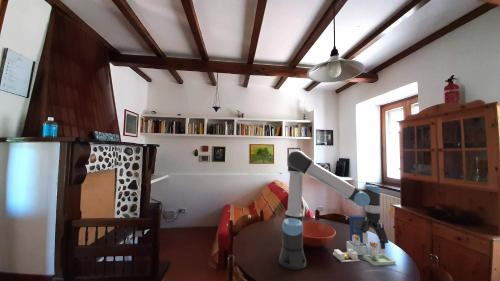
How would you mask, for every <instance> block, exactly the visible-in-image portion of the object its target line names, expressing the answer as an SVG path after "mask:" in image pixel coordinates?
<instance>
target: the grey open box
mask: <svg viewBox="0 0 500 281" xmlns="http://www.w3.org/2000/svg"><path fill="white" fill-rule="evenodd" d="M347 249H353V250H354V251H355V252H357V253H358V256H363V255H368V252H367V251H368V250H367V245H366V246H365V245H364V244H362V243H361V242H360V246H353V245H352V241H350V240H349V241H348V240H346V250H347Z"/></svg>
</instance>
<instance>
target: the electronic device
mask: <svg viewBox="0 0 500 281" xmlns="http://www.w3.org/2000/svg"><path fill="white" fill-rule="evenodd" d="M348 216H349V219H348V220H349V241H352V235H353V234H356V235H359V236H360V242H361V243H362V244H363V236H362V231H361V230H360V227H361V224H362V221H363V217H366V216H365V215H362V214H361V215H357V214H355V215H353V214H350V215H348ZM364 245H365V246H367V244H364Z"/></svg>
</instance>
